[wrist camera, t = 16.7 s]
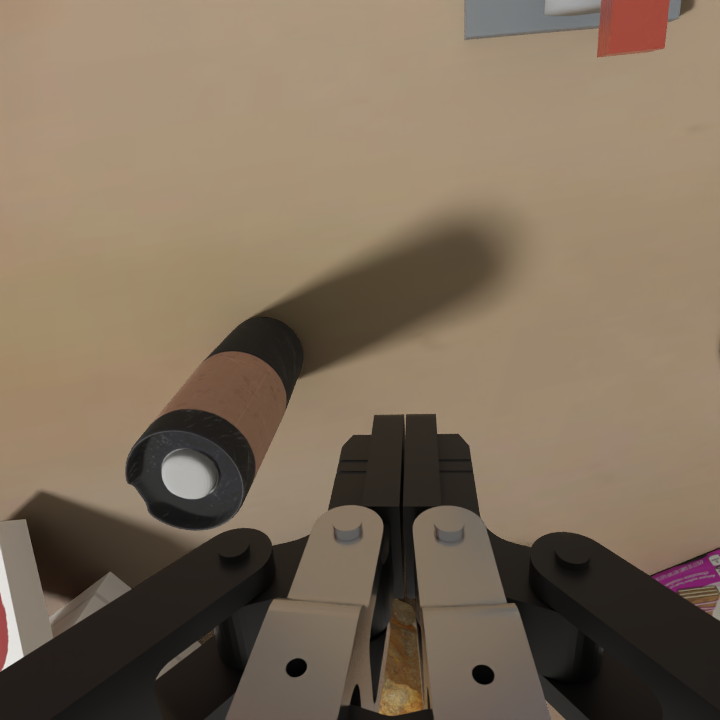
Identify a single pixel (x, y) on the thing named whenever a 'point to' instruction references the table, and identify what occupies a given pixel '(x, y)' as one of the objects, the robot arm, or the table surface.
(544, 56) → the table surface
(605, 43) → the lever
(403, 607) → the rough brown rock
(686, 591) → the candy bar box
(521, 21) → the valve stand
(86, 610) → the pizza boxes
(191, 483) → the travel mug
